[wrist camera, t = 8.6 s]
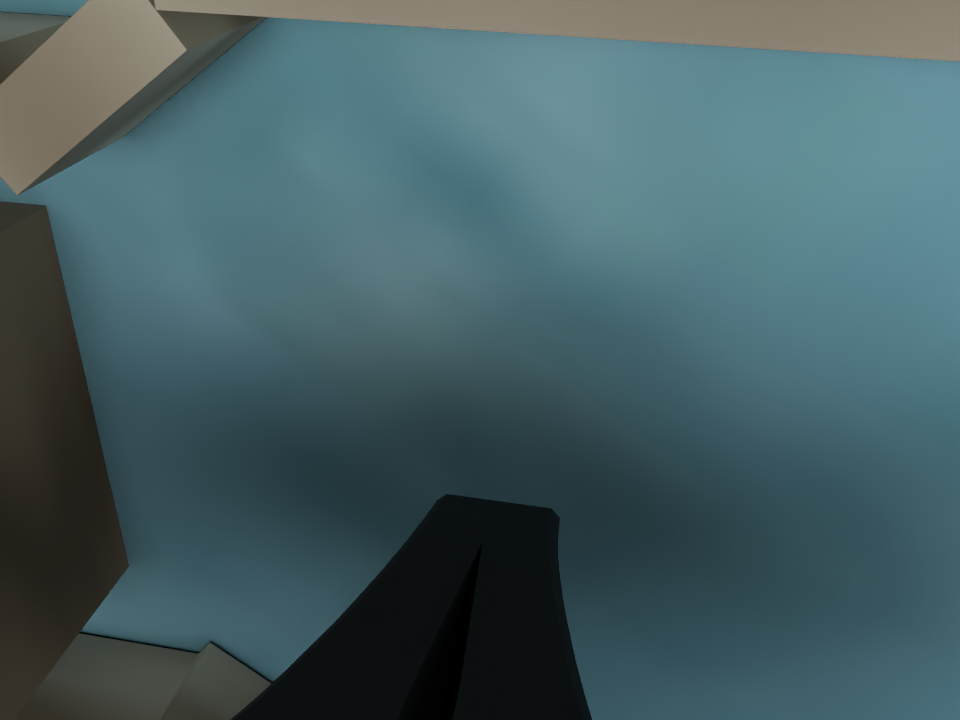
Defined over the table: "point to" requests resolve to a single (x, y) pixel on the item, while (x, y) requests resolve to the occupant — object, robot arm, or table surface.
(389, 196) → the table surface
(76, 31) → the open wooden frame
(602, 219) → the table surface
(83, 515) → the walnut block
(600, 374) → the table surface
